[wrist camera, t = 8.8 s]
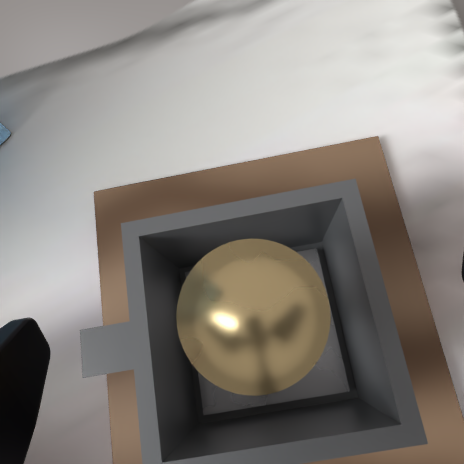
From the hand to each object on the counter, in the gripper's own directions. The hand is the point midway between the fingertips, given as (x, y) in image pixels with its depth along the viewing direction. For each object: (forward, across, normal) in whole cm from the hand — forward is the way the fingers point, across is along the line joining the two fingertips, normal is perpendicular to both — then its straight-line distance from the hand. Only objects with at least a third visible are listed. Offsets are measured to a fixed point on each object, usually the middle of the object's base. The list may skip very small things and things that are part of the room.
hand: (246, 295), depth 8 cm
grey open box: (+8, 0, +8) cm, 12 cm away
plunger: (+8, 0, +8) cm, 11 cm away
